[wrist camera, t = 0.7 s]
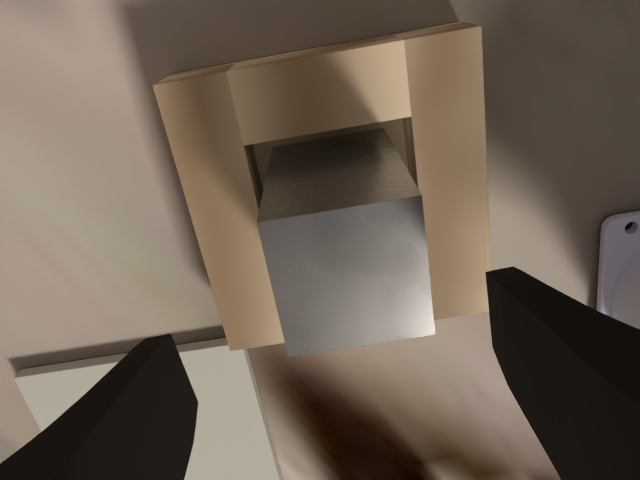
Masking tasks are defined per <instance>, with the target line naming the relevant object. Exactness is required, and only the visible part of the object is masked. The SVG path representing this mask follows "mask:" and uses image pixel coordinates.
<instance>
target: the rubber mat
mask: <svg viewBox="0 0 640 480" xmlns="http://www.w3.org/2000/svg"><path fill="white" fill-rule="evenodd" d="M176 348H177V350H178V353H179V355H180V358H181V360H182V363H183V365H184V368H185V370H186V373H187V375H188V378H189V380H190V383H191V385H192V388H193V390H194V393H195V395H196V398H197V400H198V410H197V420H196V428H195V436H194V443H193V447H192V451H191V455H190V459H189V463H188V467H187V471H186V474H185V478H184V480H283V478H282V475H281V471H280V467H279V464H278V460H277V456H276V453H275V449H274V446H273V442H272V438H271V435H270V431H269V427H268V424H267V420H266V416H265V413H264V409H263V406H262V402H261V398H260V395H259V391H258V387H257V384H256V380H255V376H254V373H253V369H252V366H251V362H250V358H249V355H248V351H247V349H241V350H234V351H230V349H229V346H228V342H227V339H226V338H219V339H213V340H207V341H200V342H194V343H187V344H181V345H176ZM127 354H128V353H123V354H116V355H110V356H103V357H97V358H90V359H84V360H77V361H71V362H65V363H58V364H52V365H45V366H39V367H32V368H26V369H21V370H20V371H19V372H18V374H17V375H16V376H15V378H14V379H15V381H16V383H17V385H18V387H19V389H20V391H21V393H22V395H23V397H24V399H25V401H26V403H27V404H28V406H29V408H30V410H31V412H32V414H33V416H34V418H35V420H36V422H37V424H38V426H39V428H40V430H41V432H42V431H43V430H44V429H46V428H47V427H48V426H49V425H50V424H51V423H53V422H54V421H55V420H56V419H57V418H58V417H59V416H61V415H62V414H63V413H64V412H65V411H66V410H67V409H69V408H70V407H71V406H72V405H73V404H74V403H75V402H77V401H78V400H79V399H80V398H81V397H82V396H83V395H84V394H85V393H86V392H88V391H89V390H90V389H91V388H92V387H93V386H94V385H95V384H96V383H97V382H98V381H99V380H100V379H101V378H102V377H103V376H105V375H106V374H107V373H108V372H109V371H110V370H111V369H112V368H113V367H114V366H115V365H116V364H117V363H118V362H119V361H120V360H121V359H122V358H124V357H125V356H126V355H127Z"/></svg>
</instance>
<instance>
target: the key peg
mask: <svg viewBox="0 0 640 480" xmlns="http://www.w3.org/2000/svg"><path fill="white" fill-rule="evenodd" d="M256 223H257V228H258V232H259V236H260V240H261V244H262V249H263V253H264V257H265V261H266V265H267V270H268V274H269V278H270V282H271V286H272V291H273V295H274V299H275V303H276V308H277V312H278V316H279V320H280V324H281V329H282V333H283V337H284V341H285V345H286V350H287V354H288V357H289V356H296V355H303V354H309V353H316V352H322V351H329V350H335V349H342V348H348V347H355V346H362V345H368V344H375V343H381V342H388V341H394V340H401V339H408V338H414V337H421V336H427V335H434V334H435V326H434V316H433V305H432V295H431V284H430V274H429V263H428V253H427V242H426V232H425V221H424V210H423V200H422V194H421V193H420V191H419V189H418V187H417V185H416V184H415V182H414V180H413V178H412V177H411V175H410V173H409V171H408V170H407V168H406V166H405V164H404V163H403V161H402V159H401V157H400V155H399V154H398V152H397V150H396V148H395V147H394V145H393V143H392V141H391V140H390V138H389V136H388V134H387V133H386V131H385V129H384V128H379V129H373V130H368V131H362V132H356V133H350V134H344V135H339V136H333V137H327V138H321V139H315V140H310V141H304V142H298V143H292V144H286V145H281V146H275V147H273V149H272V154H271V158H270V163H269V167H268V172H267V177H266V181H265V186H264V190H263V195H262V199H261V204H260V208H259V213H258V218H257V222H256Z"/></svg>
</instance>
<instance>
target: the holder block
mask: <svg viewBox="0 0 640 480" xmlns="http://www.w3.org/2000/svg"><path fill="white" fill-rule="evenodd" d="M153 89H154V92H155V96H156V99H157V103H158V106H159V109H160V113H161V116H162V120H163V123H164V127H165V130H166V133H167V137H168V140H169V144H170V147H171V151H172V154H173V157H174V161H175V164H176V168H177V171H178V175H179V178H180V181H181V185H182V188H183V192H184V195H185V199H186V202H187V205H188V209H189V212H190V216H191V219H192V223H193V226H194V229H195V233H196V236H197V240H198V243H199V247H200V250H201V253H202V257H203V260H204V264H205V267H206V271H207V274H208V277H209V281H210V284H211V288H212V291H213V294H214V298H215V301H216V305H217V308H218V312H219V315H220V318H221V322H222V325H223V329H224V332H225V336H226V339H227V342H228V346H229V349H230V351H234V350H241V349H247V348H254V347H261V346H267V345H274V344H280V343H285V341H284V337H283V333H282V329H281V324H280V320H279V316H278V312H277V308H276V303H275V299H274V295H273V291H272V286H271V282H270V278H269V274H268V270H267V265H266V261H265V257H264V253H263V249H262V244H261V240H260V236H259V232H258V228H257V223H256V222H257V218H258V213H259V208H260V204H261V199H262V195H263V190H264V186H265V181H266V177H267V172H268V167H269V163H270V158H271V154H272V149H273V147H275V146H281V145H286V144H292V143H298V142H304V141H310V140H315V139H321V138H327V137H333V136H339V135H344V134H350V133H356V132H362V131H368V130H373V129H379V128H384V129H385V131H386V133H387V134H388V136H389V138H390V140H391V141H392V143H393V145H394V147H395V148H396V150H397V152H398V154H399V155H400V157H401V159H402V161H403V163H404V164H405V166H406V168H407V170H408V171H409V173H410V175H411V177H412V178H413V180H414V182H415V184H416V185H417V187H418V189H419V191H420V193H421V194H422V200H423V210H424V221H425V232H426V242H427V253H428V263H429V274H430V284H431V295H432V305H433V316H434V320H436V319H443V318H449V317H456V316H462V315H469V314H475V313H482V312H488V311H489V304H488V294H487V284H486V274H485V272H488V271H491V252H490V227H489V202H488V177H487V152H486V127H485V102H484V76H483V51H482V26H479V25H474V24H468V23H463V22H456V23H450V24H445V25H439V26H434V27H428V28H423V29H417V30H412V31H406V32H400V33H395V34H389V35H384V36H378V37H373V38H367V39H362V40H356V41H351V42H345V43H340V44H334V45H329V46H323V47H318V48H312V49H307V50H301V51H295V52H290V53H284V54H279V55H273V56H268V57H262V58H257V59H251V60H246V61H240V62H235V63H229V64H224V65H218V66H213V67H207V68H202V69H196V70H191V71H185V72H179V73H174V74H170V75H169V76H167V77H165V78H164V79H162V80H160V81H159V82H157V83H155V84H154V85H153Z"/></svg>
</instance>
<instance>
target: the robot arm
mask: <svg viewBox="0 0 640 480" xmlns="http://www.w3.org/2000/svg"><path fill="white" fill-rule="evenodd" d="M630 222H633V224H632V226H631V227H630V228H629V229H627V230H625V226H626V225H627V224H628V223H630ZM485 274H486V284H487V294H488V304H489V314H490V325H491V335H492V345H493V349H494V352H495V354H496V357H497V359H498V362H499V365H500V367H501V370H502V372H503V374H504V377H505V379H506V381H507V384H508V386H509V388H510V390H511V392H512V393H513V395H514V397H515V399H516V401H517V402H518V404H519V406H520V408H521V409H522V411H523V413H524V415H525V417H526V418H527V420H528V422H529V424H530V425H531V427H532V429H533V430H534V432H535V434H536V436H537V437H538V439H539V441H540V443H541V444H542V446H543V448H544V450H545V451H546V453H547V455H548V457H549V458H550V460H551V462H552V464H553V465H554V467H555V469H556V471H557V472H558V474H559V476H560V478H561V480H640V211H636V212H629V213H623V214H617V215H613V216H610V217H608V218H607V219H606V220H605V221H604V222H603V223H602V226H601V236H600V254H599V272H598V290H597V309H596V310H595V309H593V308H591V307H589V306H586V305H584V304H582V303H580V302H578V301H577V300H575V299H573V298H571V297H569V296H567V295H565V294H563V293H561V292H559V291H558V290H556V289H554V288H552V287H550V286H548V285H547V284H545V283H543V282H541V281H539V280H538V279H536V278H534V277H532V276H530V275H529V274H527V273H525V272H523V271H521V270H519V269H517V268H515V267H508V268H503V269H498V270H493V271H488V272H485ZM197 410H198V400H197V398H196V395H195V393H194V390H193V388H192V385H191V383H190V380H189V378H188V375H187V373H186V370H185V368H184V365H183V363H182V360H181V358H180V355H179V353H178V350H177V348H176V345H175V343H174V340H173V338H172V335H171V334H166V335H161V336H156V337H151V338H146V339H144V340H143V341H142V342H141V343H139V344H138V345H137V346H136V347H135V348H133V349H132V350H131V351H130V352H129V353H128V354H127V355H126V356H125V357H124V358H122V359H121V360H120V361H119V362H118V363H117V364H116V365H115V366H114V367H113V368H112V369H111V370H110V371H109V372H108V373H107V374H106V375H105V376H103V377H102V378H101V379H100V380H99V381H98V382H97V383H96V384H95V385H94V386H93V387H92V388H91V389H90V390H89V391H88V392H86V393H85V394H84V395H83V396H82V397H81V398H80V399H79V400H78V401H77V402H75V403H74V404H73V405H72V406H71V407H70V408H69V409H67V410H66V411H65V412H64V413H63V414H62V415H61V416H59V417H58V418H57V419H56V420H55V421H54V422H53V423H51V424H50V425H49V426H48V427H47V428H46V429H44V430H43V431H42V432H41V433H40V434H38V435H37V436H36V437H35V438H33V439H32V440H31V441H30V442H28V443H27V444H26V445H25V446H23V447H22V448H21V449H19V450H18V451H17V452H15V453H14V454H13V455H11V456H10V457H9V458H7V459H6V460H5V461H3V462H2V463H1V464H0V480H184V478H185V474H186V471H187V467H188V463H189V459H190V455H191V451H192V447H193V443H194V436H195V428H196V420H197Z"/></svg>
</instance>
